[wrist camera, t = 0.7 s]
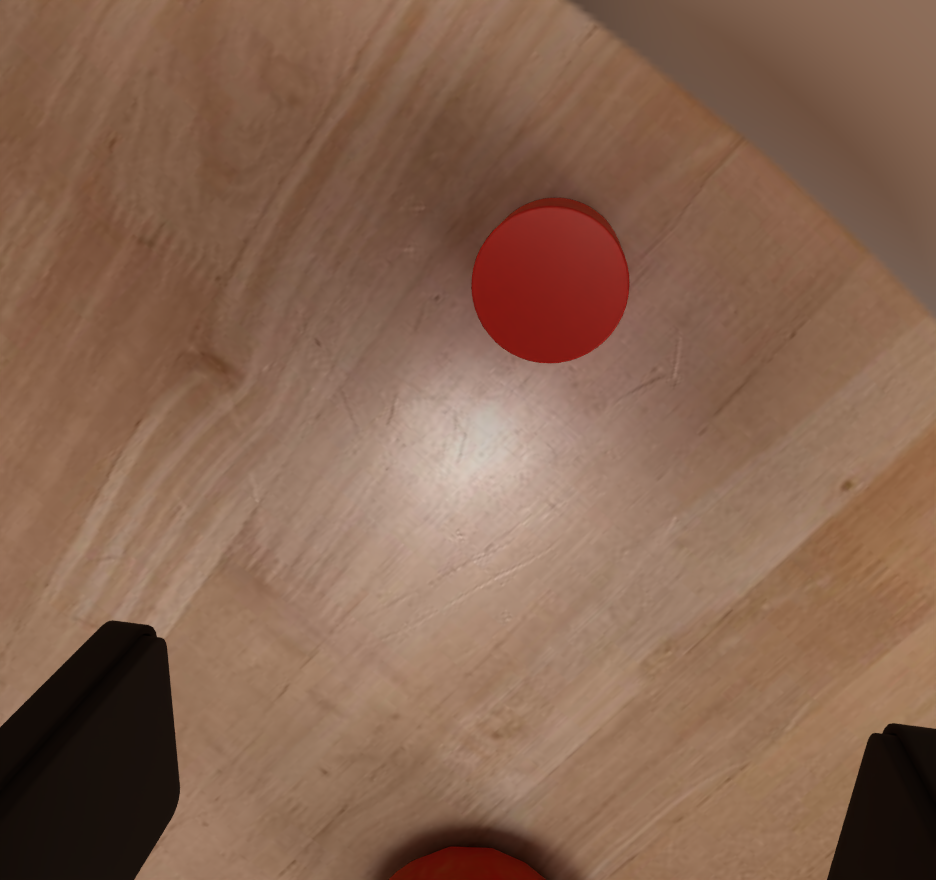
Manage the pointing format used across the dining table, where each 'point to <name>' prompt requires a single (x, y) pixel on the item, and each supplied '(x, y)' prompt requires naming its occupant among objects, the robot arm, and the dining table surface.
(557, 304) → the cylinder
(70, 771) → the robot arm
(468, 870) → the apple
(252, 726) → the dining table surface
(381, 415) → the dining table surface
